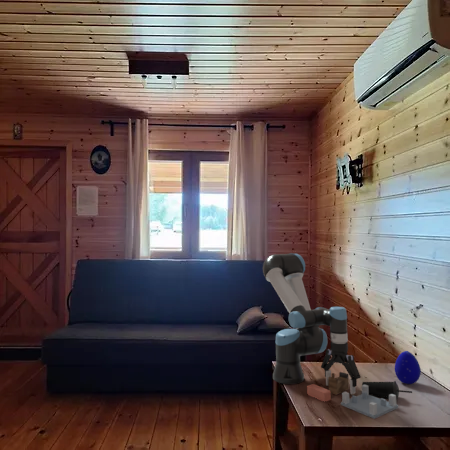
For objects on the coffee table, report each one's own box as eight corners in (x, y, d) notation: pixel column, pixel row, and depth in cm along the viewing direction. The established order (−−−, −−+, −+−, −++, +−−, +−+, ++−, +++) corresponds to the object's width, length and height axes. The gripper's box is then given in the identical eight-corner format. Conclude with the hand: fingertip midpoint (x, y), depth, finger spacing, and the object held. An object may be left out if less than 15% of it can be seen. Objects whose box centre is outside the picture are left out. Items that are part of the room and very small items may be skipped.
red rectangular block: (307, 394, 181) (307, 385, 181) (313, 392, 183) (313, 383, 183) (324, 402, 173) (324, 393, 173) (330, 400, 175) (330, 390, 175)
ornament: (422, 383, 192) (421, 350, 192) (417, 389, 185) (416, 355, 185) (398, 377, 199) (397, 347, 199) (392, 383, 192) (391, 351, 192)
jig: (340, 404, 170) (340, 392, 170) (364, 395, 179) (364, 383, 179) (374, 418, 157) (374, 405, 157) (398, 407, 166) (397, 395, 166)
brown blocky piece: (336, 395, 180) (336, 375, 180) (328, 392, 183) (328, 372, 183) (348, 388, 187) (348, 369, 187) (341, 386, 190) (340, 367, 190)
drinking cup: (363, 400, 180) (413, 406, 170) (360, 389, 177) (410, 394, 167) (365, 386, 186) (413, 390, 176) (362, 374, 183) (410, 378, 173)
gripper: (312, 337, 193) (314, 383, 193) (356, 349, 173) (358, 399, 172) (323, 335, 197) (324, 379, 197) (367, 345, 177) (369, 395, 177)
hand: (340, 389), depth 185 cm, fingers open, 13 cm apart
